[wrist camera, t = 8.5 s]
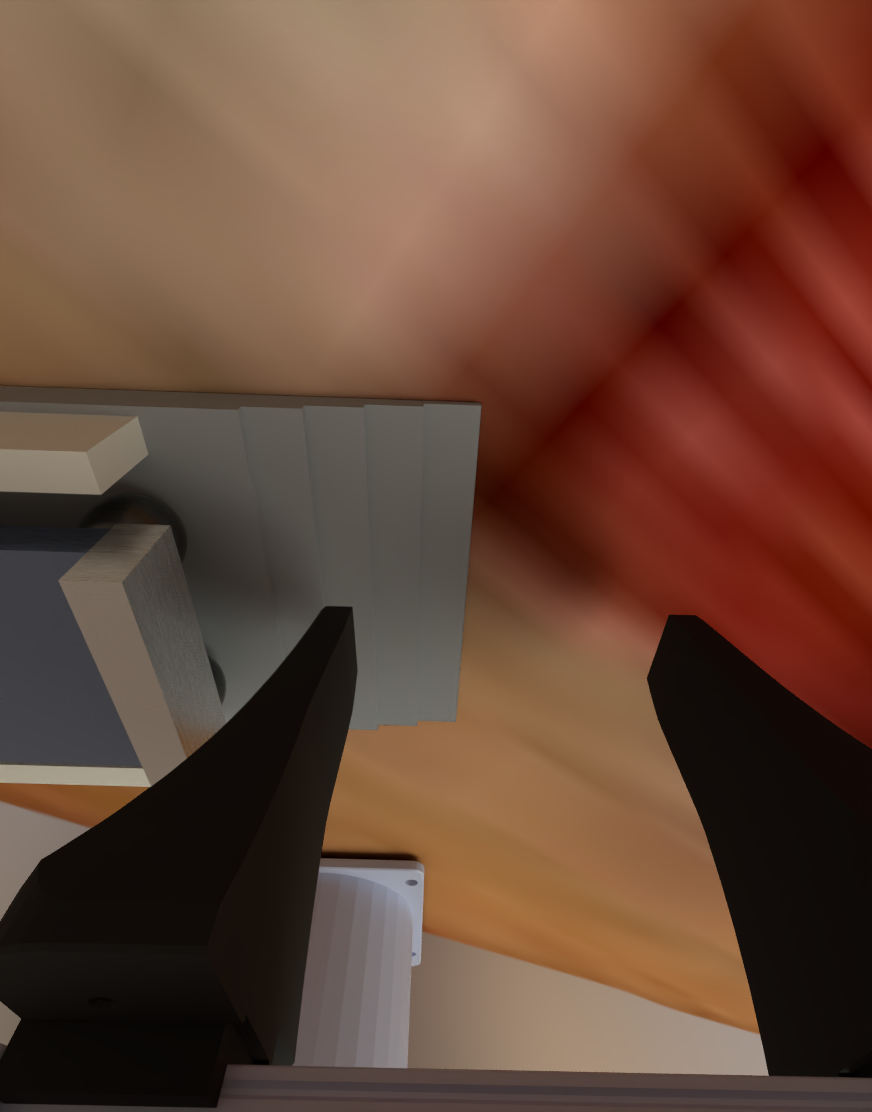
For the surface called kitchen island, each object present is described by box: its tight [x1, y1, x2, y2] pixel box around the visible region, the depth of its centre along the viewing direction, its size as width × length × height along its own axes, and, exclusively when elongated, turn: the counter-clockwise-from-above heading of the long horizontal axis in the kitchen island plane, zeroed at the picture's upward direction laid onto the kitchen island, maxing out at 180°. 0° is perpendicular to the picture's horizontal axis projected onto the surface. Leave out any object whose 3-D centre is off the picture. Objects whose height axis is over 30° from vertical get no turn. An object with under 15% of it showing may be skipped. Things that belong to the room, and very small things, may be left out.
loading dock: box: [0, 386, 481, 787], centre depth 12 cm, size 10×16×4 cm, turn 88°
